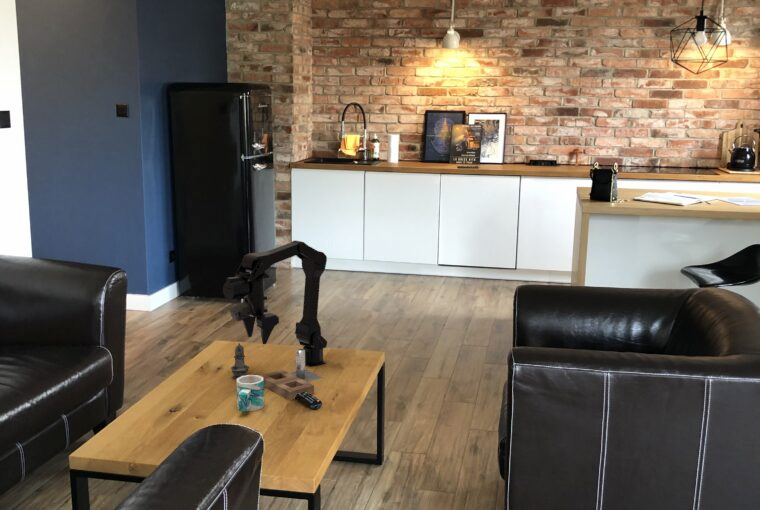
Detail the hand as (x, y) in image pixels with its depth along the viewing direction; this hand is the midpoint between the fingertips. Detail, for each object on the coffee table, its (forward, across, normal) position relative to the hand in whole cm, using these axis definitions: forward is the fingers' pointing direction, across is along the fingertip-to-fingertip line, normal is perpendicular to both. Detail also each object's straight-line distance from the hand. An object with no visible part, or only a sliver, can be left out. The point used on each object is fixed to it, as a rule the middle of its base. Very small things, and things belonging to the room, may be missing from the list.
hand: (257, 340), depth 261 cm
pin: (+14, +7, +11) cm, 19 cm away
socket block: (+14, +12, +2) cm, 19 cm away
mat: (+14, +6, +12) cm, 20 cm away
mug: (+13, +19, -14) cm, 27 cm away
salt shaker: (+14, -6, -4) cm, 15 cm away
